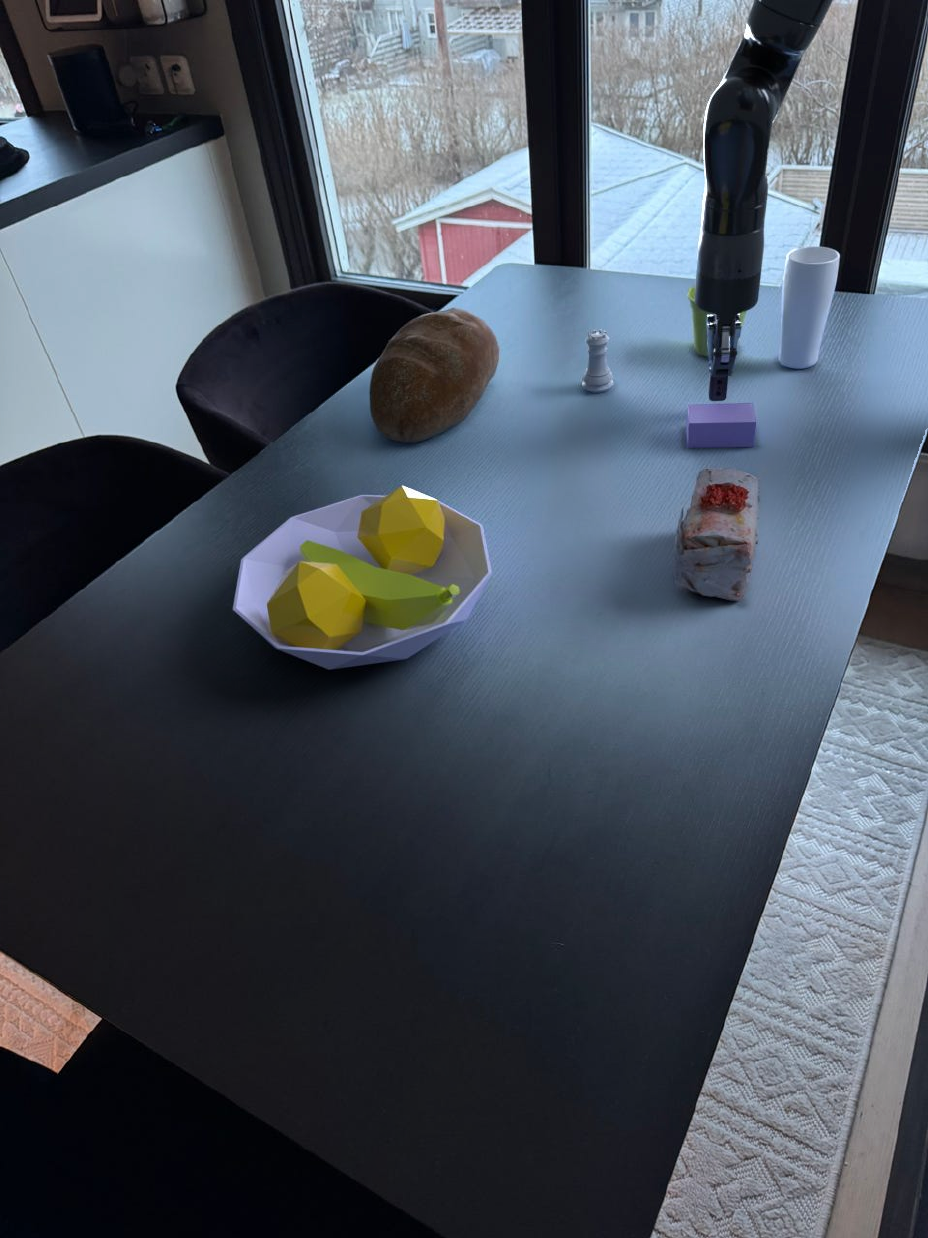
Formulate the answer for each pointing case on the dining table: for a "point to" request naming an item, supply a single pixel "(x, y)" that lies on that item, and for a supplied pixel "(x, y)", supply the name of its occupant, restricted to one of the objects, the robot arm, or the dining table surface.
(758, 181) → the robot arm
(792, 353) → the drinking glass
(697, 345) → the plant pot
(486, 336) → the bread
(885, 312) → the dining table surface
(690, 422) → the lavender block
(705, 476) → the food item
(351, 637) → the fruit bowl
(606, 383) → the rook chess piece
